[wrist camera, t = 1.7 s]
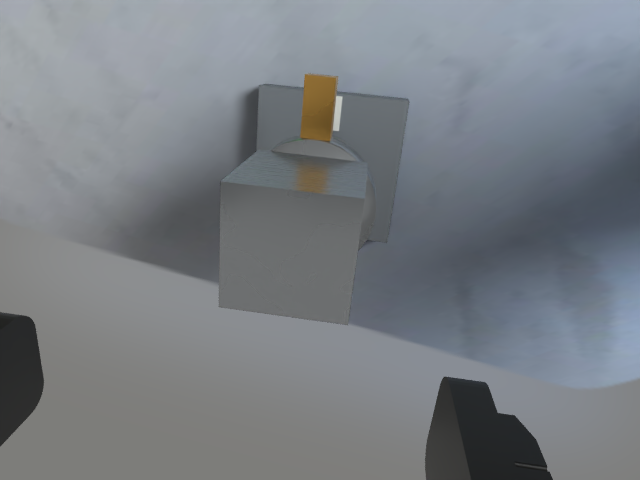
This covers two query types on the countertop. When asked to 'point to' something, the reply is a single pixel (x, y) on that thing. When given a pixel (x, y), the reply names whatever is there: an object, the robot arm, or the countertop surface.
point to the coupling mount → (345, 135)
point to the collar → (297, 219)
